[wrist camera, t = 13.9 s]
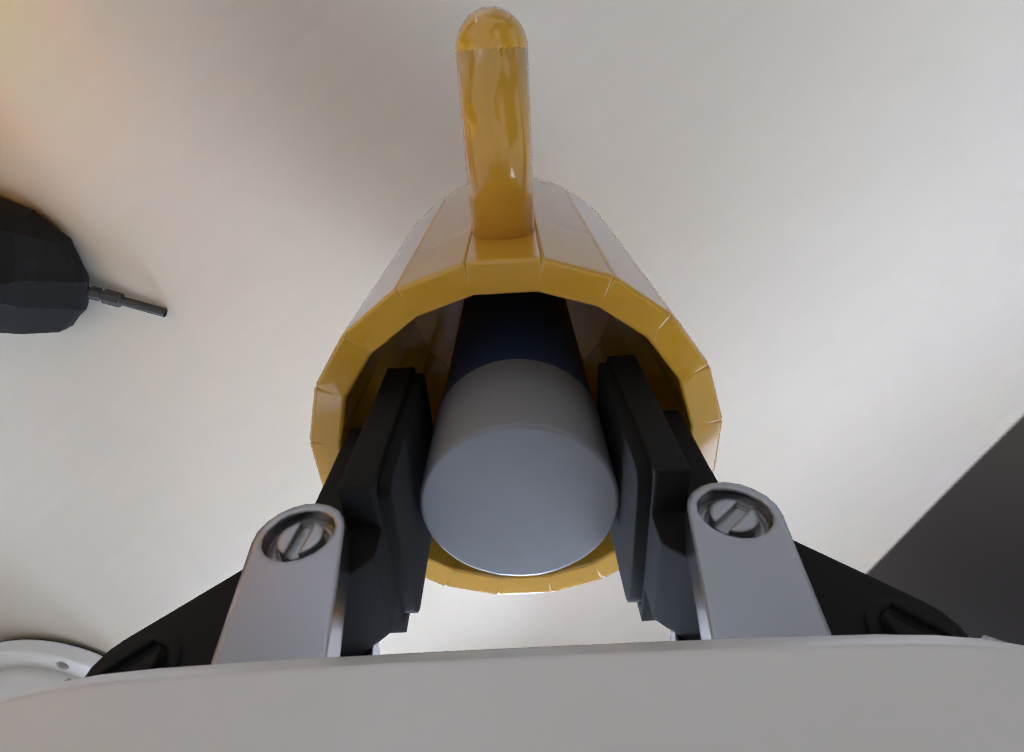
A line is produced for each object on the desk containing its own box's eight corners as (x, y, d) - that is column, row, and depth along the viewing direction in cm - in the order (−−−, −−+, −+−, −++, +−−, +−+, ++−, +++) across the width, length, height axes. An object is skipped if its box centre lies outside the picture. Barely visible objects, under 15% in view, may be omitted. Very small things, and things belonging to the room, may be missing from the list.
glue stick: (468, 351, 19) (433, 581, 10) (458, 255, 17) (404, 430, 8) (566, 345, 19) (616, 573, 10) (565, 249, 17) (624, 419, 8)
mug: (619, 385, 21) (696, 586, 12) (416, 396, 21) (355, 602, 12) (635, 34, 15) (796, -36, 7) (358, 52, 15) (180, 7, 7)
